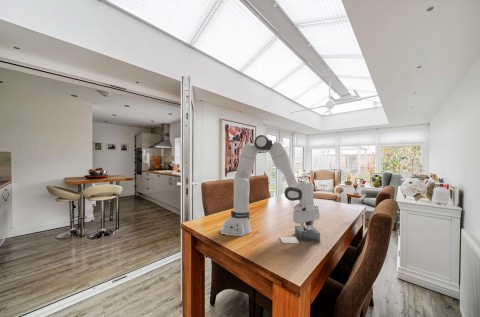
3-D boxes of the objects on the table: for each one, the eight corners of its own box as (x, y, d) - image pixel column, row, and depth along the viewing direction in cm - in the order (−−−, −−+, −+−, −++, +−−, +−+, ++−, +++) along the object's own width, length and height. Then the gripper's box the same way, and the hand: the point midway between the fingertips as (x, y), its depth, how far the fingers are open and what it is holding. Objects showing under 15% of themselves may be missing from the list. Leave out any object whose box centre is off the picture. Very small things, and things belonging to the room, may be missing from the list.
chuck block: (300, 240, 107) (300, 232, 107) (295, 233, 119) (294, 225, 119) (320, 240, 107) (320, 232, 107) (312, 233, 119) (312, 225, 119)
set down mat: (282, 243, 103) (282, 242, 104) (279, 237, 111) (279, 237, 112) (299, 243, 103) (299, 242, 103) (295, 238, 111) (295, 237, 111)
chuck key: (304, 234, 113) (304, 220, 113) (308, 232, 115) (307, 219, 115) (309, 236, 110) (308, 221, 110) (312, 234, 112) (312, 220, 112)
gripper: (313, 203, 120) (314, 223, 119) (291, 207, 111) (291, 229, 110) (321, 205, 114) (322, 226, 114) (298, 209, 105) (299, 232, 105)
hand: (307, 227), depth 112 cm, fingers open, 5 cm apart
